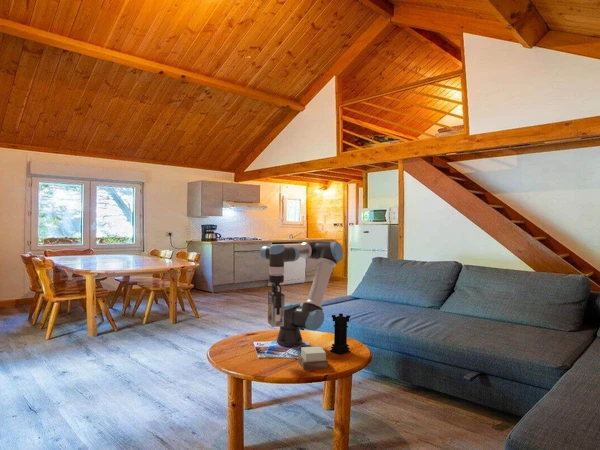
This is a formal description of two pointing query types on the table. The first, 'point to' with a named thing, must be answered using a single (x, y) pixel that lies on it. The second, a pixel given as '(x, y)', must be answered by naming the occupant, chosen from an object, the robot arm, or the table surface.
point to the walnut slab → (312, 364)
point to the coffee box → (272, 310)
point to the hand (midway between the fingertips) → (275, 318)
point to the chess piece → (340, 335)
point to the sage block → (313, 354)
